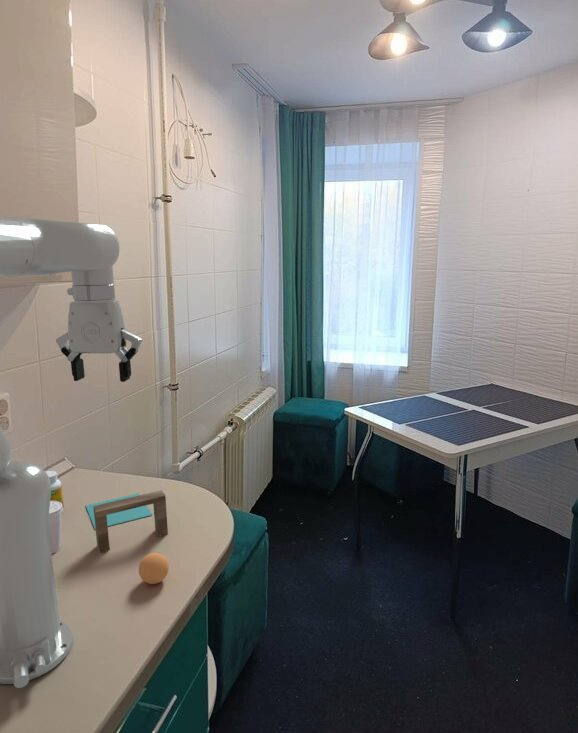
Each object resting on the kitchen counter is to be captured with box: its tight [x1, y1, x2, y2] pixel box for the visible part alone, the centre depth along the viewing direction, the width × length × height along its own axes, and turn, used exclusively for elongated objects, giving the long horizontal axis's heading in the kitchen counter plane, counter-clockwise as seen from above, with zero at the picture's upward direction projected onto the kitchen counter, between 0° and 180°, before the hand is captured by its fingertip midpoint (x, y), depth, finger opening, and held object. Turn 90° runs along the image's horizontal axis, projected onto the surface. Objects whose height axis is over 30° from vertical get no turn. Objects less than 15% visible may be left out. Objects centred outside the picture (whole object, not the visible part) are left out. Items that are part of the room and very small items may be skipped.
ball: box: [138, 552, 170, 585], centre depth 98 cm, size 6×6×6 cm
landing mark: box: [85, 493, 153, 531], centre depth 126 cm, size 13×13×1 cm
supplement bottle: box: [45, 470, 65, 512], centre depth 125 cm, size 5×5×10 cm
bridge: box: [93, 489, 169, 553], centre depth 112 cm, size 3×14×9 cm, turn 120°
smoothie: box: [49, 501, 64, 555], centre depth 108 cm, size 6×6×14 cm
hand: (102, 379), depth 104 cm, fingers open, 9 cm apart
